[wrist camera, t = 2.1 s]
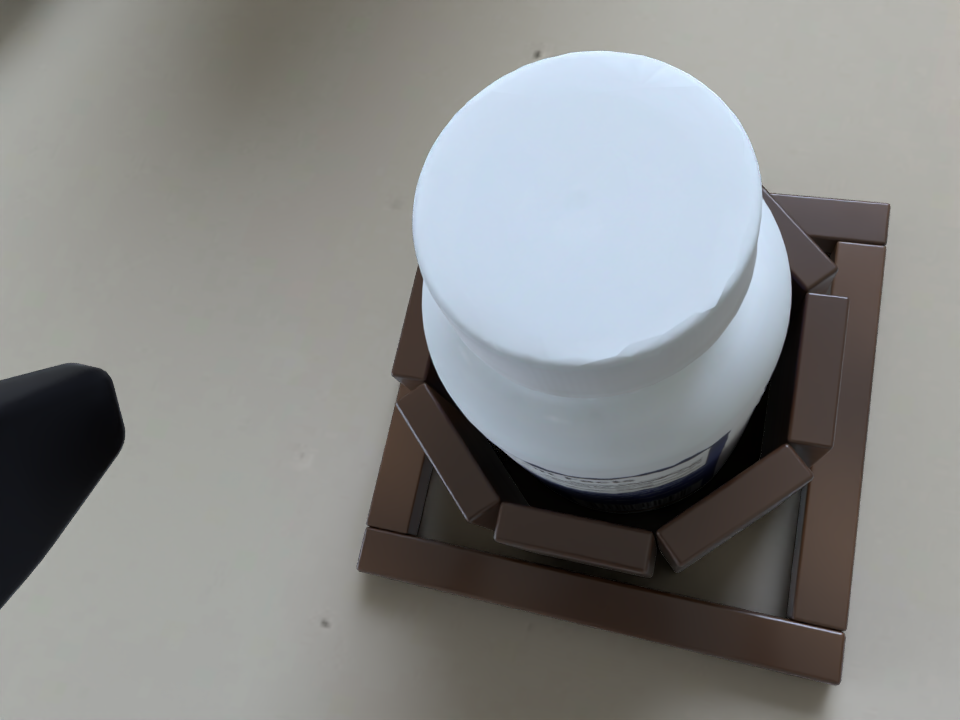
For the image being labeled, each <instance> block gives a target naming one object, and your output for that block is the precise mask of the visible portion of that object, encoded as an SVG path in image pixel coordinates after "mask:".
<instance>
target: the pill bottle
mask: <svg viewBox="0 0 960 720" xmlns="http://www.w3.org/2000/svg"><path fill="white" fill-rule="evenodd" d="M412 228H413V242H414V247H415V252H416V257H417V260H418V264H419V268H420V271H421V274H422V277H423V288H422V316H423V326H424V332H425V337H426V341H427V345H428V349H429V352H430V355H431V358H432V361H433V364H434V366H435V369H436V371H437V373H438V376H439V378H440V380H441V381H442V383H443V385H444V387H445V388H446V390H447V392H448V393H449V395H450V396H451V398H452V399H453V400H454V402H455V403H456V405H457V406H458V407H459V409H460V410H461V411H462V413H463V414H464V415H465V416H466V418H467V419H468V420H469V421H470V422H471V423H472V424H473V425H474V426H475V427H476V428H477V429H478V430H479V431H480V432H481V433H482V434H483V435H484V436H485V437H486V438H487V439H488V440H490V441H491V442H492V443H494V444H495V445H497V446H498V447H499V448H500V449H502V450H503V451H504V452H505V453H506V454H507V455H508V456H510V457H511V458H512V459H513V460H515V461H516V462H517V463H518V464H519V465H521V466H522V467H523V468H525V469H526V470H527V471H528V472H529V473H531V474H532V475H533V476H535V477H536V478H537V479H538V480H539V481H540V482H541V483H543V484H544V485H546V486H547V487H548V488H550V489H551V490H552V491H554V492H555V493H557V494H559V495H561V496H563V497H564V498H566V499H568V500H570V501H572V502H574V503H577V504H579V505H582V506H584V507H587V508H591V509H594V510H598V511H603V512H610V513H620V514H626V513H640V512H646V511H652V510H655V509H659V508H663V507H666V506H669V505H671V504H674V503H676V502H678V501H680V500H682V499H684V498H686V497H688V496H690V495H691V494H693V493H695V492H696V491H698V490H699V489H700V488H702V487H703V486H704V485H705V484H707V483H708V482H709V481H710V480H711V479H712V478H713V477H714V476H715V475H716V474H717V472H718V471H719V470H720V469H721V467H722V466H723V465H724V463H725V462H726V460H727V459H728V458H729V456H730V455H731V453H732V452H733V450H734V448H735V447H736V445H737V444H738V442H739V440H740V438H741V436H742V434H743V432H744V430H745V428H746V427H747V425H748V422H749V420H750V417H751V415H752V413H753V412H754V409H755V407H756V405H757V404H758V403H759V401H760V399H761V397H762V395H763V393H764V391H765V389H766V386H767V383H768V381H769V380H770V378H771V376H772V374H773V372H774V369H775V367H776V364H777V362H778V359H779V357H780V354H781V351H782V348H783V344H784V341H785V338H786V334H787V329H788V324H789V318H790V309H791V297H792V287H791V273H790V267H789V261H788V256H787V252H786V248H785V245H784V242H783V239H782V236H781V233H780V230H779V228H778V225H777V223H776V221H775V219H774V217H773V215H772V213H771V211H770V209H769V208H768V206H767V204H766V203H765V201H764V200H763V198H762V183H761V175H760V172H759V165H758V162H757V159H756V156H755V153H754V150H753V147H752V145H751V142H750V140H749V138H748V136H747V134H746V132H745V130H744V129H743V127H742V125H741V123H740V121H739V120H738V118H737V117H736V116H735V114H734V113H733V112H732V111H731V110H730V109H729V107H728V106H727V105H726V104H725V103H724V102H723V101H722V100H721V98H720V97H718V96H717V95H716V94H715V93H714V92H712V91H711V90H710V89H709V88H708V87H706V86H705V85H704V84H703V83H701V82H700V81H698V80H697V79H695V78H694V77H692V76H691V75H689V74H687V73H685V72H683V71H681V70H679V69H677V68H675V67H673V66H671V65H669V64H667V63H664V62H661V61H658V60H656V59H653V58H650V57H646V56H641V55H635V54H628V53H621V52H611V51H588V52H573V53H568V54H564V55H560V56H556V57H552V58H545V59H542V60H540V61H537V62H534V63H531V64H528V65H525V66H523V67H520V68H519V69H517V70H515V71H513V72H511V73H509V74H507V75H505V76H503V77H501V78H500V79H498V80H497V81H495V82H493V83H492V84H490V85H489V86H488V87H486V88H485V89H484V90H482V91H481V92H480V93H479V94H478V95H476V96H475V97H473V98H472V99H471V100H470V101H468V102H467V103H466V105H465V106H464V107H463V108H461V109H460V110H459V111H458V112H457V113H456V114H455V116H454V117H453V118H452V119H451V121H450V122H449V123H448V124H447V126H446V127H445V128H444V129H443V131H442V132H441V134H440V135H439V137H438V138H437V140H436V141H435V143H434V145H433V146H432V148H431V150H430V152H429V154H428V156H427V159H426V161H425V164H424V166H423V169H422V171H421V174H420V177H419V180H418V184H417V187H416V192H415V198H414V205H413V216H412Z"/></svg>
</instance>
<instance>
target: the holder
mask: <svg viewBox="0 0 960 720" xmlns="http://www.w3.org/2000/svg"><path fill="white" fill-rule="evenodd" d="M762 198H763V200H764V201H765V203H766V204H767V206H768V208H769V209H770V211H771V213H772V215H773V217H774V219H775V221H776V223H777V225H778V228H779V230H780V233H781V236H782V239H783V242H784V245H785V248H786V252H787V256H788V261H789V267H790V273H791V287H792V297H791V309H790V318H789V324H788V329H787V334H786V338H785V341H784V344H783V348H782V351H781V354H780V357H779V359H778V362H777V364H776V367H775V369H774V372H773V374H772V376H771V379H770V387H769V394H768V401H767V409H766V416H765V424H764V431H763V439H762V446H761V454H760V460H759V461H757V462H756V463H754V464H753V465H751V466H750V467H748V468H747V469H745V470H744V471H743V472H741V473H740V474H738V475H737V476H735V477H734V478H732V479H731V480H729V481H728V482H726V483H725V484H723V485H722V486H720V487H719V488H717V489H716V490H715V491H713V492H712V493H710V494H709V495H707V496H706V497H704V498H703V499H701V500H700V501H698V502H697V503H695V504H694V505H692V506H691V507H689V508H688V509H686V510H685V511H684V512H682V513H681V514H679V515H678V516H676V517H675V518H673V519H672V520H670V521H669V522H667V523H666V524H664V525H663V526H661V527H660V528H658V529H657V531H656V537H657V543H658V548H659V550H660V552H661V553H662V555H663V556H664V558H665V559H666V560H667V562H668V563H669V565H670V566H671V568H672V569H673V570H674V571H675V572H676V573H679V572H681V571H683V570H684V569H685V568H687V567H688V566H690V565H691V564H693V563H694V562H696V561H697V560H699V559H700V558H702V557H703V556H705V555H706V554H708V553H709V552H711V551H712V550H714V549H715V548H717V547H718V546H720V545H721V544H723V543H724V542H725V541H727V540H728V539H730V538H731V537H733V536H734V535H736V534H737V533H739V532H740V531H742V530H743V529H745V528H746V527H748V526H749V525H751V524H752V523H754V522H755V521H757V520H758V519H760V518H761V517H763V516H764V515H765V514H767V513H768V512H770V511H771V510H773V509H774V508H776V507H777V506H779V505H780V504H781V503H782V502H784V501H785V500H786V499H788V498H789V497H790V496H792V495H793V494H794V493H796V492H797V491H798V490H800V489H801V488H802V492H801V500H800V508H799V517H798V525H797V533H796V542H795V550H794V558H793V566H792V575H791V583H790V591H789V600H788V608H787V618H788V619H785V618H781V617H776V616H772V615H767V614H763V613H758V612H754V611H749V610H745V609H740V608H736V607H731V606H727V605H722V604H718V603H713V602H709V601H704V600H700V599H695V598H691V597H686V596H682V595H677V594H673V593H668V592H664V591H659V590H655V589H650V588H646V587H641V586H637V585H632V584H628V583H623V582H619V581H614V580H610V579H605V578H601V577H596V576H592V575H587V574H583V573H578V572H574V571H569V570H565V569H560V568H556V567H551V566H547V565H542V564H538V563H533V562H529V561H524V560H520V559H515V558H511V557H507V556H502V555H498V554H493V553H489V552H484V551H480V550H475V549H471V548H466V547H462V546H457V545H453V544H448V543H444V542H439V541H435V540H430V539H426V538H421V537H417V536H416V535H417V533H418V529H419V524H420V520H421V516H422V511H423V507H424V502H425V498H426V494H427V489H428V485H429V481H430V476H431V472H432V468H433V467H434V469H435V470H436V472H437V474H438V475H439V477H440V478H441V480H442V482H443V483H444V485H445V487H446V488H447V490H448V491H449V493H450V495H451V496H452V498H453V500H454V501H455V503H456V505H457V506H458V508H459V509H460V511H461V513H462V514H463V516H464V518H465V519H466V521H468V522H469V523H472V524H475V525H478V526H481V527H484V528H487V529H490V530H493V531H495V532H494V540H495V541H496V542H498V543H501V544H505V545H508V546H512V547H515V548H519V549H522V550H526V551H529V552H533V553H536V554H541V555H545V556H550V557H554V558H559V559H564V560H568V561H573V562H577V563H582V564H586V565H591V566H595V567H600V568H605V569H609V570H614V571H618V572H623V573H627V574H632V575H637V576H641V577H646V578H651V577H652V576H653V572H654V566H655V560H656V553H657V547H656V542H655V538H654V534H653V532H651V531H650V530H645V529H640V528H635V527H630V526H626V525H621V524H616V523H611V522H606V521H601V520H596V519H591V518H586V517H581V516H576V515H571V514H567V513H562V512H557V511H552V510H547V509H542V508H537V507H532V506H530V505H529V504H528V502H527V501H526V499H525V498H524V496H523V495H522V493H521V492H520V490H519V488H518V487H517V485H516V484H515V482H514V481H513V479H512V478H511V476H510V475H509V473H508V472H507V470H506V468H505V467H504V465H503V464H502V462H501V461H500V459H499V458H498V456H497V455H496V453H495V452H494V450H493V448H492V447H491V445H490V444H489V442H488V441H487V439H486V438H485V436H484V435H483V434H482V433H481V432H480V431H479V430H478V429H477V428H476V427H475V426H474V425H473V424H472V423H471V422H470V421H469V420H468V419H467V418H466V416H465V415H464V414H463V413H462V411H461V410H460V409H459V407H458V406H457V405H456V403H455V402H454V400H453V399H452V398H451V396H450V395H449V393H448V392H447V390H446V388H445V387H444V385H443V383H442V381H441V380H440V378H439V376H438V373H437V371H436V369H435V366H434V364H433V361H432V358H431V355H430V352H429V349H428V345H427V341H426V337H425V332H424V326H423V316H422V288H423V277H422V274H421V271H420V268H419V264H418V267H417V272H416V276H415V280H414V284H413V288H412V292H411V296H410V300H409V304H408V308H407V312H406V316H405V320H404V324H403V328H402V332H401V336H400V340H399V344H398V348H397V352H396V356H395V360H394V364H393V368H392V373H391V374H392V376H393V377H394V378H395V379H397V380H398V381H399V382H400V387H399V392H398V396H397V400H396V404H395V408H394V412H393V416H392V420H391V424H390V428H389V432H388V437H387V441H386V445H385V449H384V453H383V457H382V461H381V465H380V469H379V473H378V478H377V482H376V486H375V490H374V494H373V498H372V502H371V506H370V510H369V514H368V519H367V523H366V524H367V525H368V526H370V527H367V528H366V530H365V534H364V538H363V542H362V546H361V550H360V555H359V559H358V563H357V570H358V571H360V572H364V573H368V574H372V575H376V576H381V577H385V578H389V579H393V580H397V581H401V582H406V583H410V584H414V585H418V586H422V587H426V588H431V589H435V590H439V591H443V592H447V593H451V594H456V595H460V596H464V597H468V598H472V599H476V600H481V601H485V602H489V603H493V604H497V605H501V606H506V607H510V608H514V609H518V610H522V611H526V612H531V613H535V614H539V615H543V616H547V617H551V618H556V619H560V620H564V621H568V622H572V623H576V624H581V625H585V626H589V627H593V628H597V629H601V630H606V631H610V632H614V633H618V634H622V635H626V636H631V637H635V638H639V639H643V640H647V641H651V642H656V643H660V644H664V645H668V646H672V647H676V648H681V649H685V650H689V651H693V652H697V653H701V654H706V655H710V656H714V657H718V658H722V659H726V660H731V661H735V662H739V663H743V664H747V665H751V666H756V667H760V668H764V669H768V670H772V671H776V672H781V673H785V674H789V675H793V676H797V677H801V678H806V679H810V680H814V681H818V682H822V683H826V684H831V685H839V684H840V683H841V678H842V668H843V659H844V649H845V639H846V637H845V633H843V632H842V631H846V629H847V623H848V614H849V604H850V594H851V585H852V575H853V565H854V556H855V546H856V537H857V527H858V517H859V508H860V498H861V488H862V479H863V469H864V459H865V450H866V440H867V430H868V421H869V411H870V401H871V392H872V382H873V372H874V363H875V353H876V343H877V334H878V324H879V314H880V305H881V295H882V286H883V276H884V266H885V257H886V247H885V245H886V244H887V236H888V227H889V217H890V204H888V203H878V202H867V201H855V200H844V199H833V198H821V197H810V196H798V195H787V194H776V193H769V192H768V191H767V190H766V189H765V188H764V187H763V185H762ZM825 253H831V255H830V258H829V257H828V256H827V255H826V254H825Z"/></svg>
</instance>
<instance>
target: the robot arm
mask: <svg viewBox="0 0 960 720" xmlns="http://www.w3.org/2000/svg"><path fill="white" fill-rule="evenodd" d="M124 440H125V427H124V423H123V419H122V415H121V411H120V407H119V404H118V400H117V396H116V392H115V388H114V385H113V381H112V379H111V377H110V376H109V375H108V373H107V372H106V371H104V370H102V369H100V368H96V367H92V366H88V365H83V364H79V363H66V364H61V365H58V366H54V367H50V368H46V369H42V370H38V371H35V372H31V373H27V374H23V375H19V376H15V377H12V378H8V379H4V380H0V609H1V608H2V607H3V606H4V604H5V603H6V602H7V601H8V600H9V599H10V598H11V596H12V595H13V594H14V593H15V592H16V591H17V589H18V588H19V587H20V586H21V585H22V584H23V582H24V581H25V580H26V579H27V578H28V577H29V575H30V574H31V573H32V572H33V570H34V569H35V568H36V567H37V566H38V564H39V563H40V562H41V561H42V559H43V558H44V557H45V555H46V554H47V553H48V551H49V550H50V549H51V547H52V546H53V545H54V543H55V542H56V541H57V539H58V538H59V536H60V535H61V534H62V532H63V531H64V529H65V528H66V527H67V525H68V524H69V523H70V521H71V520H72V518H73V517H74V516H75V514H76V513H77V511H78V510H79V509H80V507H81V506H82V504H83V503H84V502H85V500H86V499H87V497H88V496H89V495H90V493H91V492H92V490H93V489H94V488H95V486H96V485H97V483H98V482H99V481H100V479H101V478H102V476H103V475H104V474H105V472H106V471H107V469H108V468H109V467H110V465H111V464H112V462H113V461H114V460H115V458H116V457H117V455H118V454H119V452H120V451H121V449H122V446H123V444H124Z"/></svg>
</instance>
